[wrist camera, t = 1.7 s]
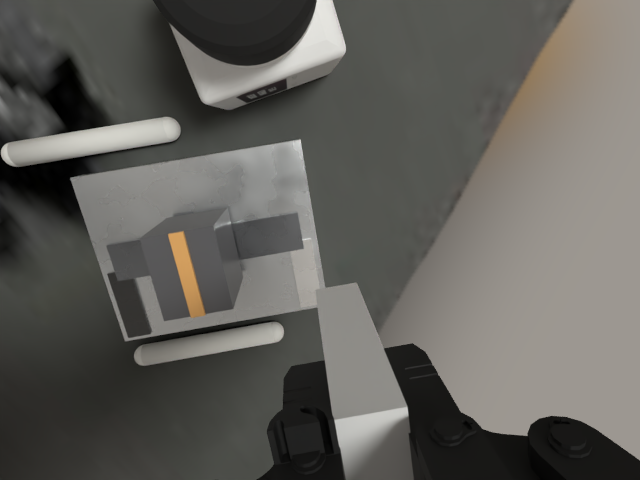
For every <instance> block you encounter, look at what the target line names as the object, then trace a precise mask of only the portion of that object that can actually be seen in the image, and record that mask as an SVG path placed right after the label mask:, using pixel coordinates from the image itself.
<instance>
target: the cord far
mask: <svg viewBox="0 0 640 480" xmlns="http://www.w3.org/2000/svg"><path fill="white" fill-rule="evenodd" d="M283 335H284V329H283V327H282V325H281V324H280V323H278V322H268V323H262V324H256V325H251V326H245V327H239V328H234V329H228V330H223V331H217V332H211V333H206V334H200V335H194V336H189V337H183V338H178V339H172V340H166V341H161V342H155V343H149V344H144V345H141V346H139V347H138V348H137V349H136V351H135V353H134V359H135V361H136V363H137V364H139V365H142V366H147V365H152V364H158V363H163V362H169V361H175V360H180V359H186V358H191V357H197V356H203V355H208V354H214V353H219V352H225V351H231V350H236V349H242V348H247V347H253V346H258V345H264V344H270V343H275V342H278V341H280V340H281V339H282V337H283Z"/></svg>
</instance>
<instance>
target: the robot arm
mask: <svg viewBox="0 0 640 480" xmlns="http://www.w3.org/2000/svg"><path fill="white" fill-rule="evenodd" d="M315 293H316V300H317V307H318V314H319V322H320V329H321V336H322V343H323V351H324V358H325V360H324V361H318V362H312V363H307V364H301V365H296V366H291V368H290V369H289V371H288V373H287V374H286V376H285V377H284V388H283V392H284V394H283V410H281V411H280V412H278V413H277V414H276V415H275V416H274V417H273V419H272V420H271V421H270V423H269V426H268V429H267V435H268V439H269V443H270V447H271V451H272V456H273V460H274V465H273V467H272V468H271V469H270V470H269V471H268V472H267V473H265V474H264V475H263V476H262V477H260V478H258V479H257V480H640V461H639V460H638V459H637V458H635V457H634V456H633V455H631V454H630V453H628V452H627V451H626V450H624V449H623V448H621V447H620V446H619V445H617V444H616V443H614V442H613V441H612V440H610V439H609V438H607V437H606V436H604V435H603V434H602V433H600V432H599V431H597V430H596V429H594V428H592V427H591V426H589V425H587V424H585V423H583V422H581V421H578V420H574V419H571V418H568V417H557V416H550V417H545V418H541V419H538V420H537V421H535V422H534V423H533V424H531V426H530V429H529V431H528V436H519V435H507V434H499V433H492V432H489V431H486V430H483V429H482V428H481V427H480V426H479V425H478V424H477V422H475V420H474V419H473V418H471V417H469V416H467V415H465V414H463V413H461V412H460V410H459V408H458V407H457V405H456V403H455V402H454V400H453V398H452V397H451V395H450V393H449V391H448V390H447V388H446V386H445V385H444V383H443V382H442V380H441V378H440V376H438V373H437V371H436V369H435V368H434V366H433V365H432V363H431V361H430V359H429V358H428V356H427V354H426V353H425V352H424V351H423V350H422V349H420V348H418V347H417V346H416V345H414V344H407V345H401V346H395V347H390V348H383V346H382V343H381V341H380V338H379V336H378V334H377V331H376V329H375V326H374V324H373V321H372V319H371V316H370V314H369V312H368V309H367V307H366V304H365V302H364V299H363V297H362V294H361V292H360V290H359V287H358V285H357V283H352V284H346V285H340V286H335V287H329V288H323V289H317V290H315Z"/></svg>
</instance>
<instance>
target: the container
mask: <svg viewBox="0 0 640 480" xmlns="http://www.w3.org/2000/svg"><path fill="white" fill-rule="evenodd" d="M153 1H154V2H155V4H156V6H157V7H158V9H159V10H160V12H161V13H162V15H163V16H164V17H165V18H166V19H167V21H168V22H169V24H170V26H171V29H172V31H173V34H174V36H175V38H176V41H177V43H178V46H179V48H180V51H181V53H182V56H183V58H184V61H185V63H186V65H187V68H188V70H189V73H190V75H191V78H192V80H193V83H194V85H195V87H196V90H197V92H198V95H199V97H200V99H201V101H202V102H203V103H204V104H206V105H210V106H214V107H218V108H221V109H225V110H232V109H235V108H237V107H240V106H243V105H246V104H248V103H251V102H254V101H257V100H259V99H262V98H265V97H268V96H270V95H273V94H276V93H279V92H282V91H284V90H287V89H290V88H293V87H295V86H298V85H301V84H304V83H306V82H309V81H312V80H315V79H317V78H320V77H323V76H326V75H328V74H330V73H331V72H332V70H333V69H334V68H335V66H336V65H337V64H338V62H339V61H340V60H341V58H342V57H343V56H344V54H345V52H346V45H345V42H344V38H343V35H342V32H341V28H340V25H339V21H338V18H337V15H336V11H335V8H334V4H333V1H332V0H153Z"/></svg>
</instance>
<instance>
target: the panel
mask: <svg viewBox="0 0 640 480" xmlns="http://www.w3.org/2000/svg"><path fill="white" fill-rule="evenodd" d="M70 179H71V182H72V185H73V188H74V191H75V194H76V197H77V200H78V202H79V205H80V208H81V211H82V214H83V217H84V220H85V223H86V226H87V229H88V232H89V235H90V238H91V241H92V244H93V247H94V250H95V253H96V256H97V259H98V262H99V265H100V268H101V271H102V274H103V277H104V280H105V283H106V286H107V289H108V292H109V295H110V298H111V301H112V304H113V307H114V310H115V313H116V316H117V319H118V322H119V325H120V328H121V331H122V334H123V337H124V340H125V341H130V340H136V339H141V338H147V337H153V336H158V335H164V334H169V333H175V332H181V331H186V330H192V329H198V328H203V327H209V326H215V325H220V324H226V323H232V322H237V321H243V320H248V319H254V318H260V317H265V316H271V315H277V314H282V313H288V312H294V311H299V310H305V309H311V308H316V307H317V300H316V293H315V290H317V289H323V288H325V284H324V278H323V272H322V266H321V260H320V254H319V248H318V242H317V236H316V230H315V224H314V218H313V212H312V206H311V200H310V194H309V189H308V183H307V177H306V171H305V165H304V159H303V153H302V147H301V141H300V139H295V140H289V141H283V142H277V143H271V144H265V145H259V146H253V147H247V148H241V149H235V150H229V151H223V152H217V153H211V154H205V155H199V156H193V157H187V158H181V159H175V160H169V161H163V162H157V163H151V164H145V165H139V166H133V167H127V168H121V169H115V170H109V171H103V172H97V173H91V174H85V175H81V176H77V177H72V178H70ZM222 208H227V209H228V213H229V217H230V222H231V226H232V230H233V235H234V239H235V244H236V248H237V252H238V257H239V261H240V265H241V270H242V274H243V280H242V283H241V286H240V290H239V293H238V296H237V299H236V302H235V306H234V309H231V310H225V311H220V312H214V313H208V314H206V315H205V316H200V317H194V318H191V317H186V318H180V319H174V320H169V321H164V319H163V316H162V313H161V309H160V306H159V303H158V299H157V296H156V293H155V289H154V286H153V283H152V279H151V276H150V273H149V269H148V266H147V263H146V259H145V256H144V252H143V249H142V246H141V242H140V239H139V238H141V237H142V236H143V235H145V234H146V233H147V232H149V231H150V230H151V229H153V228H154V227H155V226H157V225H158V224H159V223H161V222H162V221H163V220H165V219H166V218H169V217H175V216H181V215H187V214H193V213H199V212H205V211H211V210H217V209H222Z"/></svg>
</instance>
